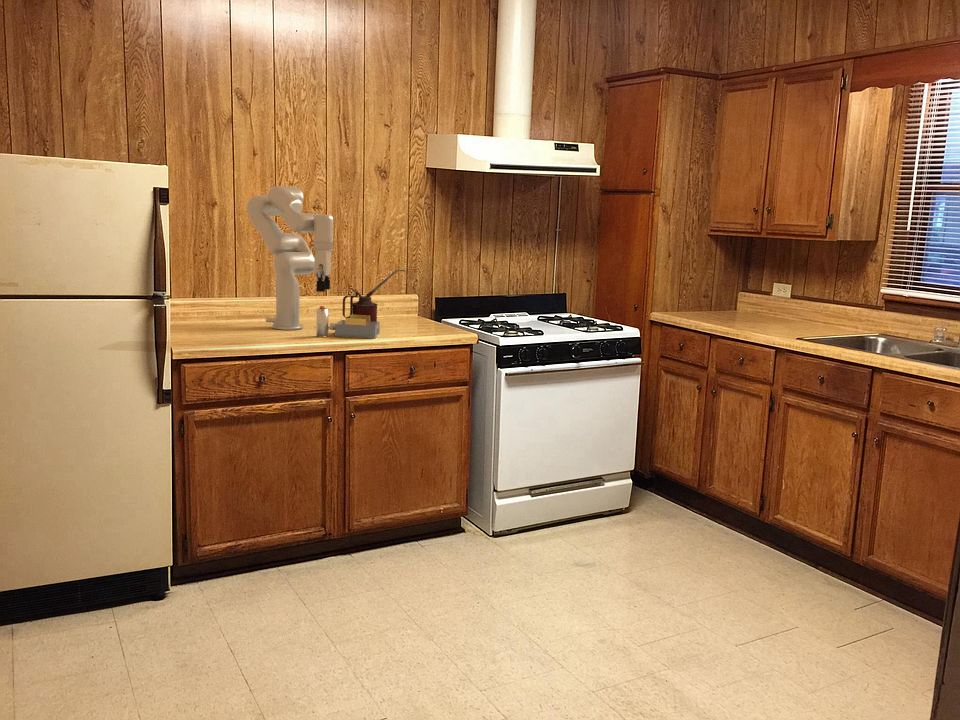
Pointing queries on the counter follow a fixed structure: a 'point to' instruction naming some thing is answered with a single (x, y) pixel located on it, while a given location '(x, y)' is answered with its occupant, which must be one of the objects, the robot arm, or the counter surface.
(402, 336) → the counter surface
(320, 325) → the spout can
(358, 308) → the oil can
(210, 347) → the counter surface
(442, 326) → the counter surface
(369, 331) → the gearbox
